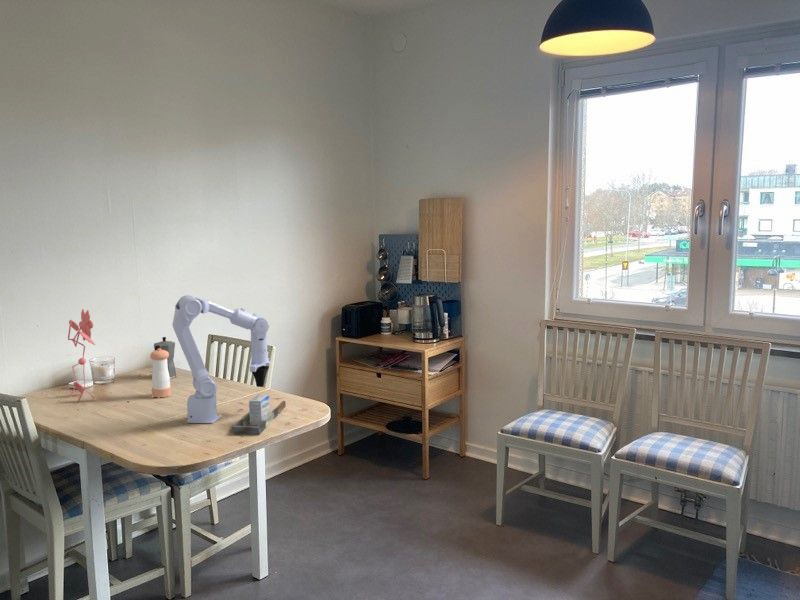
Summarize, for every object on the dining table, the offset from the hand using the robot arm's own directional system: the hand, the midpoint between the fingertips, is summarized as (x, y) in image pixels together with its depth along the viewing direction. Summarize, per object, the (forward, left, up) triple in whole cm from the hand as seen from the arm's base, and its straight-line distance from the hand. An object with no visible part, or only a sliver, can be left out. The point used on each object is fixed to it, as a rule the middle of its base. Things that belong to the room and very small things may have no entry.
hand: (260, 386), depth 235 cm
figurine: (-73, +11, -10) cm, 74 cm away
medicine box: (+4, -12, -10) cm, 16 cm away
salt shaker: (-46, +15, -10) cm, 49 cm away
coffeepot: (-58, +42, -10) cm, 72 cm away
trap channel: (+3, -9, -9) cm, 13 cm away
